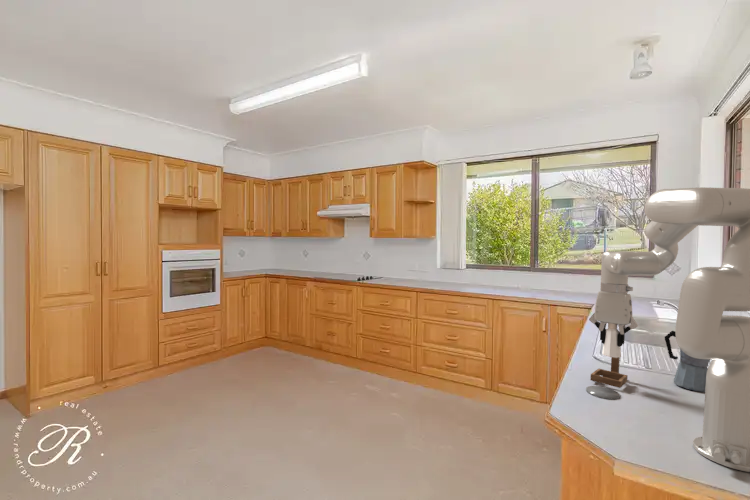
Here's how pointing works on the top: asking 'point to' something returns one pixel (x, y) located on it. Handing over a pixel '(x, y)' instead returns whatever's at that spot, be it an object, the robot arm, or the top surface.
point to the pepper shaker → (611, 342)
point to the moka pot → (689, 369)
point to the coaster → (602, 392)
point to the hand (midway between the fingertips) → (611, 343)
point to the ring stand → (610, 375)
